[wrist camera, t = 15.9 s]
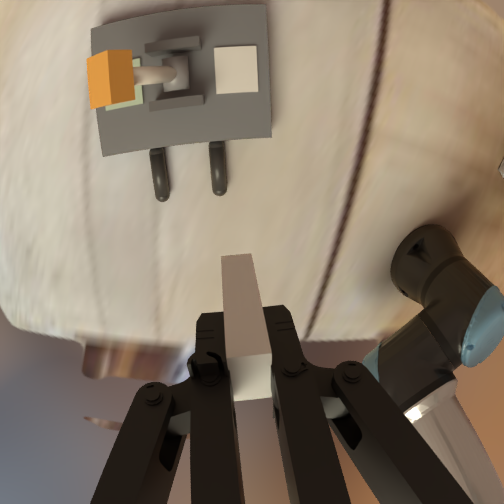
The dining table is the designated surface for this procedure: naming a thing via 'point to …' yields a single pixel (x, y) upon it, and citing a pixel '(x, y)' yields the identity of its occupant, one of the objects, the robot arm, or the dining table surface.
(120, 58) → the breaker lever
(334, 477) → the robot arm
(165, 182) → the breaker box
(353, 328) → the dining table surface
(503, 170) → the tea box
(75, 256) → the dining table surface
